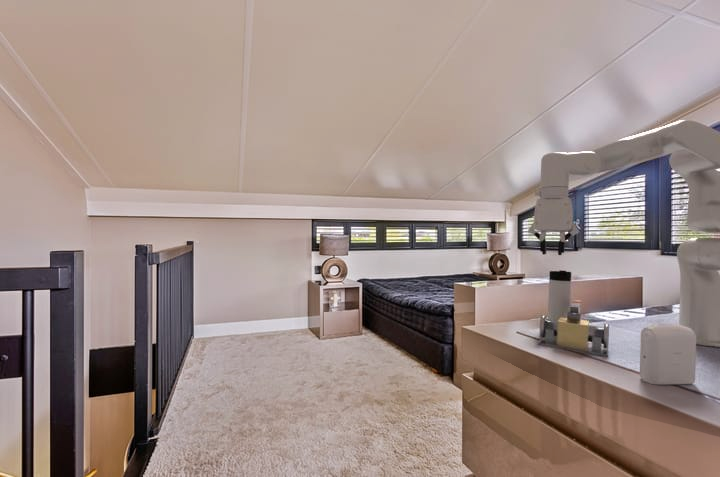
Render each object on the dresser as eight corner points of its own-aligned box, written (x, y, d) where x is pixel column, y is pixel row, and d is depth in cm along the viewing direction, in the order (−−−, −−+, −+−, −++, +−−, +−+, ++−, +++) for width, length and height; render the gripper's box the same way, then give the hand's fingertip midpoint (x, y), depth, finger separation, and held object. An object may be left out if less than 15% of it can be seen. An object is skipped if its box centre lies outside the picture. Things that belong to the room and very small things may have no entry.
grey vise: (607, 347, 96) (608, 321, 96) (608, 357, 88) (609, 328, 88) (543, 336, 106) (544, 312, 106) (538, 344, 97) (539, 318, 97)
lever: (580, 321, 95) (580, 308, 95) (566, 320, 96) (566, 306, 96) (582, 312, 107) (583, 300, 107) (570, 311, 109) (571, 299, 109)
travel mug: (550, 332, 111) (552, 270, 111) (545, 327, 117) (547, 268, 117) (572, 334, 109) (574, 271, 109) (566, 329, 115) (568, 269, 115)
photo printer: (654, 386, 71) (656, 325, 71) (635, 377, 75) (637, 320, 75) (699, 385, 72) (701, 326, 72) (678, 377, 76) (680, 321, 76)
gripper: (521, 194, 107) (520, 253, 107) (585, 191, 98) (583, 256, 98) (526, 197, 113) (524, 253, 113) (587, 194, 104) (584, 255, 104)
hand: (552, 254), depth 105 cm, fingers open, 3 cm apart
